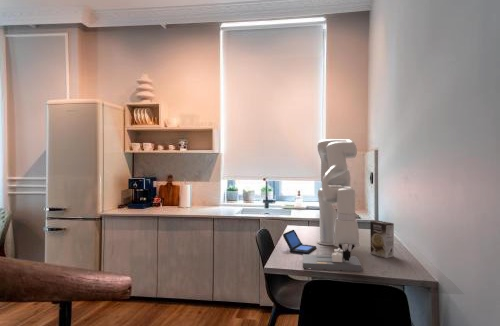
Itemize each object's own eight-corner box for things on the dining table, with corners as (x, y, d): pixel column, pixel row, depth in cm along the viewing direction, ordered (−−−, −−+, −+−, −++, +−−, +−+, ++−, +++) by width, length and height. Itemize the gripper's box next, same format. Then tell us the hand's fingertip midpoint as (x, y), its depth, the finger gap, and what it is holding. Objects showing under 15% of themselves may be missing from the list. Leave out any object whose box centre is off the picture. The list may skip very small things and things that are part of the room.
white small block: (332, 259, 145) (331, 251, 145) (341, 260, 144) (341, 251, 144) (332, 261, 142) (332, 253, 142) (342, 262, 141) (342, 253, 142)
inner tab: (334, 255, 152) (334, 247, 152) (343, 256, 151) (343, 248, 151) (334, 257, 149) (334, 249, 149) (344, 257, 148) (344, 249, 148)
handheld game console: (307, 255, 164) (307, 236, 164) (282, 252, 170) (282, 234, 170) (317, 248, 178) (316, 231, 178) (293, 245, 184) (293, 228, 184)
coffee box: (369, 253, 165) (369, 221, 165) (378, 252, 168) (378, 220, 168) (385, 258, 157) (385, 224, 157) (394, 256, 160) (394, 222, 160)
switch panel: (303, 259, 156) (303, 254, 156) (356, 261, 152) (356, 255, 152) (303, 268, 142) (302, 262, 142) (361, 271, 138) (361, 265, 138)
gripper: (362, 216, 145) (363, 258, 145) (327, 215, 148) (328, 256, 148) (366, 218, 138) (366, 263, 138) (329, 218, 140) (329, 261, 140)
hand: (346, 259), depth 143 cm, fingers closed
